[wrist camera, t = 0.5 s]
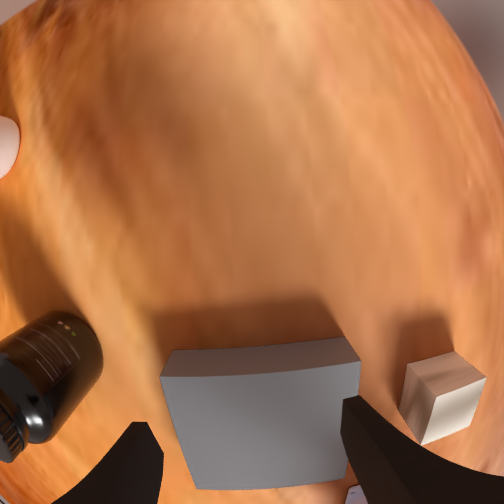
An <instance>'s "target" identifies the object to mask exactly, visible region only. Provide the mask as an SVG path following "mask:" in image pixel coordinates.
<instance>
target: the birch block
mask: <svg viewBox="0 0 504 504" xmlns="http://www.w3.org/2000/svg"><path fill="white" fill-rule="evenodd" d="M486 378H487V377H486V376H485V375H483V374H482V373H481V372H480V371H479V370H477V369H476V368H475V367H474V366H473V365H471V364H470V363H469V362H468V361H466V360H465V359H464V358H463V357H462V356H460V355H459V354H458V353H457V352H455V351H452V352H449V353H446V354H442V355H439V356H435V357H432V358H428V359H425V360H421V361H417V362H413V363H409V364H407V369H406V375H405V380H404V386H403V391H402V396H401V401H400V405H399V410H398V411H399V413H400V414H401V416H402V417H403V419H404V420H405V422H406V424H407V425H408V427H409V428H410V430H411V431H412V433H413V434H414V436H415V438H416V439H417V441H418V442H419V444H420V445H424V444H427V443H429V442H432V441H435V440H437V439H440V438H442V437H445V436H447V435H450V434H452V433H454V432H457V431H459V430H461V429H463V428H465V427H468V426H469V425H470V423H471V420H472V418H473V415H474V413H475V410H476V407H477V405H478V402H479V399H480V396H481V393H482V390H483V387H484V384H485V381H486Z"/></svg>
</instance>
